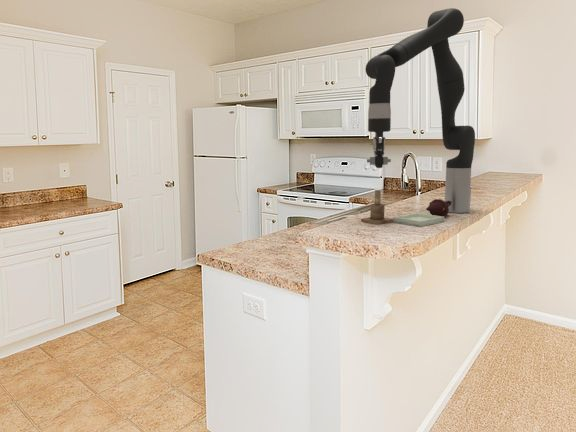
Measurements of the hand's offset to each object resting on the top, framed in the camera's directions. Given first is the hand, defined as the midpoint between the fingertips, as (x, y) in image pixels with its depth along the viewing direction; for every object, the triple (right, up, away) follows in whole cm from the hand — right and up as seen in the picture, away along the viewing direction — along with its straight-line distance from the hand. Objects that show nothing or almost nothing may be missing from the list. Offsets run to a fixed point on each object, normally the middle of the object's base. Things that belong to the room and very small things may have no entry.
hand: (378, 167), depth 160 cm
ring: (0, +1, 0) cm, 1 cm away
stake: (0, -19, +3) cm, 19 cm away
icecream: (+24, -18, +11) cm, 32 cm away
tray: (+14, -19, +1) cm, 24 cm away
